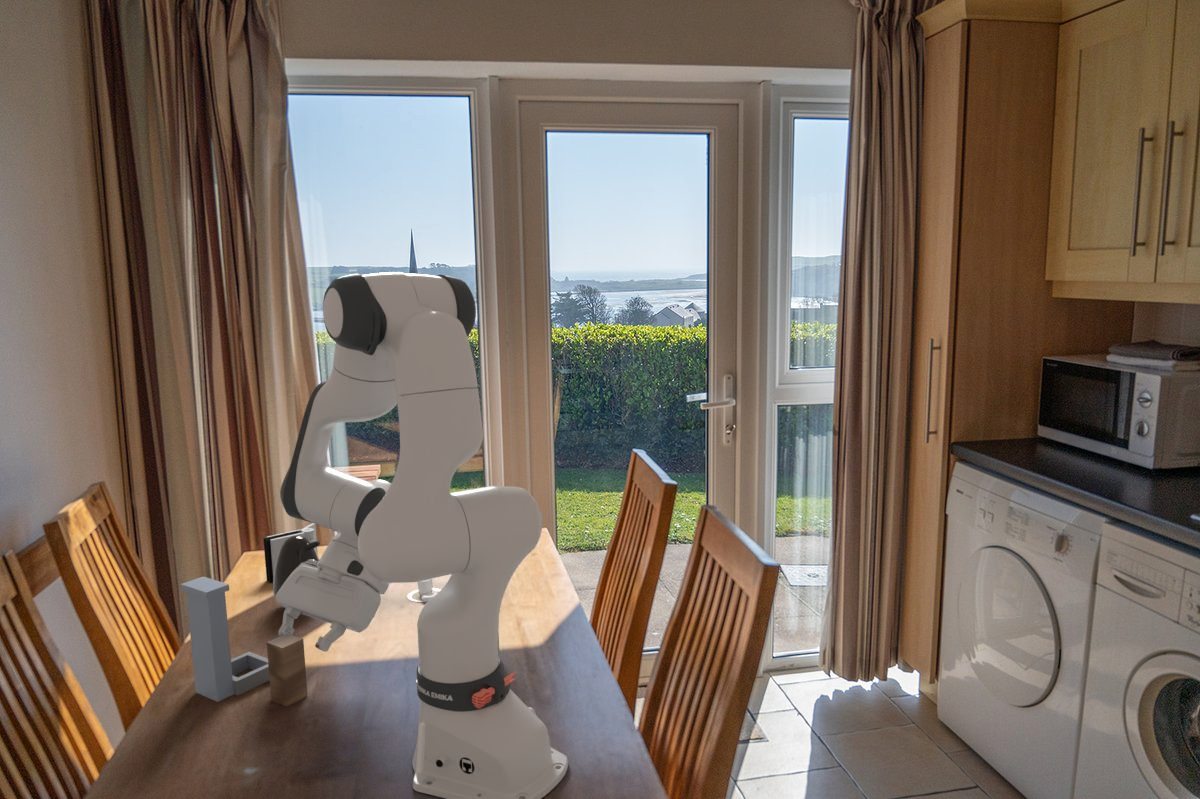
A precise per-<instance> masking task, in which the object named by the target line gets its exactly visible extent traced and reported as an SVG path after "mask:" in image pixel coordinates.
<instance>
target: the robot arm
mask: <svg viewBox="0 0 1200 799" xmlns="http://www.w3.org/2000/svg"><path fill="white" fill-rule="evenodd" d="M476 307H477V306H476V301H475V297H474V295H473V292H472V291H471V288H470V287H469V286H468V284H467V283H466V282H465V281H464V280H462V279H460V278H458V277H456V276H455V277H454V276H450V275H444V274H438V275H431V274H421V273H404V272H401V271H396V272H395V271H392V272H391V271H389V272H379V273H378V272H377V273H369V274H360V273H353V274H347V275H343V276H340V277H336V278H334V279H333V280H332V281H331V282H330V283H329V285H328V287H327V288H326V290H325V291H324V295H323V301H322V316H323V322H324V327H325V329H326V333H327V334H328V336H329V337H330V339H332V340H333V341H334V342H335V347H334V353H333V363H332V364H333V365H332V370H331V373H330V376H329V377H328V379H327V380H324V381H322V382H320V383H319V384H318V385H317V386H316V387H315V388H314V389H313V391H312V393H311V394H310V395H309V399H308V401H307V404H306V406H305V411H304V413H303V417H302V421H301V424H300V428H299V433H298V435H297V438H296V439H297V440H296V442H295V443H296V444H295V446H294V451H293V454H292V459H291V462H290V465H289V467H288V469H287V471H286V474H285V476H284V478H283V481H282V484H281V487H280V489H279V490H280V491H279V494H280V495H279V496H280V500H281V504H282V506H283V509H284V511H285V512H286V514H287V515H288V516H289V517H291V518H294V519H298V520H301V521H304V522H305V521H306V522H308V523H311V524H312V523H315V524H316V526H317V525H318V526H321V527H323V528H325V529H328V530H330V531H332V532H337V534H336V535H334V536H333V537H332V539H331V540H330V541H329V543H328V544H327V547H326V548H325V550H324V552H323V553H322V556H320V557H319V561H316V560H313V559H309V560H308V561H305V562H303V563H301V564H300V565H299V566H298V567H297V568H296V569H295V570H294V571H293V572H292V573H291V574H290V576H289V577H288V578H287V580H286V581H285V582H284V584H283V585H282V587H281V588H280V589H279V591H278V592H277V594H276V596H275V602H276V603H278V604H279V605H280V607H282V606H283V607H285V608H286V609H285V608H284V609H285V610H284V611H283V614H282V615H283V616H282V624H281V626H280V627H279V630H278V634H277V635H279V636H283V635H285V634H287V633H288V634H291V635H293V634H294V633H295V631H296V630H295V628H293V627H294V621H295V619H296V620H297V619H298V618H299V616H300V615H304V616H307V617H310V618H313V619H316V620H319V621H322V622H325V623H329V624H331V625H330V626H329V628H330V630H329V631H328V632H327V633H326V634H325V635H324V636H319V637H318V638H317V641H316V643H315V645H314V646H315V648H316V649H318V650H320V651H322V652H325V653H326V652H328V651H329V649H330V648H331V646H332V644H333V643H335V642H337V640H338V639H339V638H341V637H342V636H344V634H345V631H346V630H350V631H352V632H355V633H361V632H364V631H365V630H366V629H367V628H369V625H370V624H371V622H372V620H373V619H374V617H375V615H376V613H377V611H378V610H379V607H380V604H381V601H382V596H381V595H383V594H385V593H386V592H387V591H388V589H389V584H390V583H391V584H393V583H394V584H395V583H396V584H397V583H399V584H400V583H401V584H402V583H403V584H404V583H418V581H423V580H427V579H432V580H433V579H436V578H440V577H446V576H449V575H450V577H449V579H448V581H447V582H445V584H444V586H443V587H442V589H441V591H440V592H438V591H437V592H436V593H437V594H436V595H435V596H434V597H432V598H431V599H430V600H429V601H428V602H425V604H424V606H423V607H422V609H421V611H420V612H419V615H418V618H417V622H416V626H417V627H416V628H417V646H418V666H417V667H416V679H415V685H416V691H417V697H418V698H419V714H418V725H417V726H418V727H417V737H416V738H417V739H416V746H415V750H414V754H413V757H412V761H411V762H412V768H413V771H414V775H413V779H412V780H413V781H412V788H413V790H415V791H416V792H418V793H421V794H422V793H423V794H426V795H431V796H435V797H438V798H441V799H542V798H543V797H545V796H546V795H547V794H549V793H550V792H551V791H552V790H553V789H554V788H555V787H557V786H558V784H560V782H561V781H562V780H563V779H564V777H565V775H566V774H567V770H568V767H569V761H568V760H569V759H568V756H567V755H565V754H564V753H562V752H560V751H558V750H557V749H555V748H554V747H552V746H551V741H550V735H549V732H548V729H547V725H546V724H545V723H544V722H543V721H542V720H541V719H540V718H539V717H538V716H537V713H536V710H535V709H534V708H532V707H531V706H530V707H529V706H528V705H526V704H525V703H524V702H523V701H522V700H521V698H520V697H518V695H516V694H515V692H514V691H513V690H512V689H511V685H510V684H512V682H514V681H515V680H516V678H515V677H514V676H515V675H516V672H515V671H514V672H511V673H510V674H508V675H507V673H506V670H505V667H504V665H503V662H502V660H501V658H500V651H499V652H498V631H499V626H500V625H499V624H500V613H501V606H502V603H503V602H502V601H503V598H504V597H505V596H504V595H505V593H506V590H507V588H508V585H509V583H510V582H511V581H510V580H511V579H512V578H513V575H514V574H515V572H516V570H517V569H518V567H519V566H520V564H521V563H522V562H523V561H524V559H526V557H527V556H529V554H531V552H532V551H534V549H535V548H536V547H537V545H538V543H539V541H540V538H541V536H542V530H543V518H542V513H541V512H542V511H541V509H540V507H539V504H538V502H537V501H536V499H535V498H534V496H532V494H531V493H530V492H529V491H528V490H526V488H524V487H520V486H506V485H504V486H503V485H489V486H482V487H477V488H476V487H475V488H469V489H464V490H458V491H452V492H451V485H452V479H453V476H454V475H455V473H456V471H457V470H458V468H460V467H461V466H462V465H463V464H465V463H466V462H468V461H469V460H471V459H472V458H473V457H474V456H475V455H476V454H477V453H478V451H479V449H480V448H481V446H482V444H483V440H484V429H483V420H482V411H481V403H480V394H479V388H478V387H479V385H478V379H477V372H476V365H475V361H474V357H473V352H472V349H471V345H470V341H469V338H468V337H469V335H470V334H471V332H472V330H473V328H474V326H475V323H476V317H477V316H476V314H477V308H476ZM396 406H397V412H398V424H399V457H398V458H399V459H398V463H397V468H396V470H395V474H394V476H393V480H392V481H391V482H389V481H388V480H384V479H378V478H377V479H373V480H372V481H367V480H365V479H363V478H360V477H357V476H353V475H351V474H348V473H346V472H344V471H340V470H337V469H335V468H334V467H332V466H331V465H330V464H329V463H328V462H327V459H326V456H327V452H328V450H329V446H330V443H331V439H332V435H333V432H334V429H335V426H336V424H337V423H338V424H339V423H361V422H368V421H372V420H375V419H378V418H380V417H383V416H385V415H387V414H388V413H389V412H391V411H392V410H393V409H394V408H395V407H396ZM306 563H307V564H306ZM283 607H282V608H283ZM513 677H514V678H513Z"/></svg>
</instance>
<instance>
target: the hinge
mask: <svg viewBox="0 0 1200 799" xmlns="http://www.w3.org/2000/svg"><path fill="white" fill-rule="evenodd" d="M295 535H300V536H304V537H305V538H307V539H308V540H309V541H310V543H312V542H315V541H318V539H317V524H315V523H312V522H311V523H310V524H308V525H306V526H305V527H303V528H299V529H296V530H291V531H290V530H289V531H286V532H281V533H277V534H273V535H268V536H266V537H263V549H264V551H263V552H264V561H265V562H264V563H265V573H266V574H265V575H266V581H267V582H268V581H269V582H268V583H269V584H273V583H272V582H273V581H274V571H275V566H276V562H277V558H278V555H279V552H280V549H281V547H282V545H283V543H284V542H285V541H286V540H287V539H288V538H289V537H291V536H295ZM314 549H315V551H316V553H317V555H318V556H319V554H318V546H317V547H315V548H314Z"/></svg>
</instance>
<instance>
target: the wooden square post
mask: <svg viewBox="0 0 1200 799" xmlns="http://www.w3.org/2000/svg"><path fill="white" fill-rule="evenodd" d="M266 652H267V653H266V654H267V658H268V666H269V679H270V680H269V688H270V690H269V691H270V699H271V700H270V701H272V702H274V703H277V704H279V705H281V706H285V707H289V706H292V705H294V704H295V703H297V702H299V701H301V700H303V699H304V698H306V697H308V685H307V684H308V683H307V671H306V670H307V669H306V661H305V660H306V655H305V645H304V638H302V637H300V636H296V635H293V634H292V635H291V634H288V633H287V634H285V635H283V636H281V635H279V637H276V638H274V639H272V640H270V641H267V642H266Z"/></svg>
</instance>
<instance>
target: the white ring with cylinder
mask: <svg viewBox="0 0 1200 799" xmlns="http://www.w3.org/2000/svg"><path fill="white" fill-rule="evenodd" d="M441 590H442V589H441V588H437V587H433V578H432V579H427V580H423V581H418V582H417V589H414V590H412V591H411V592H409V593H407V595H406V599H407V600H409V601H411V602H414V603H427V602H428V601H429V600H430V599H431V598H432V597H434V596H435V595H436V594H437V593H438V592H440V591H441ZM433 591H434V592H433ZM416 593H418V594H419V596H420V597H421V598H420V599H421V600H419V599H415V598H413V596H414V594H416Z"/></svg>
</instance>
